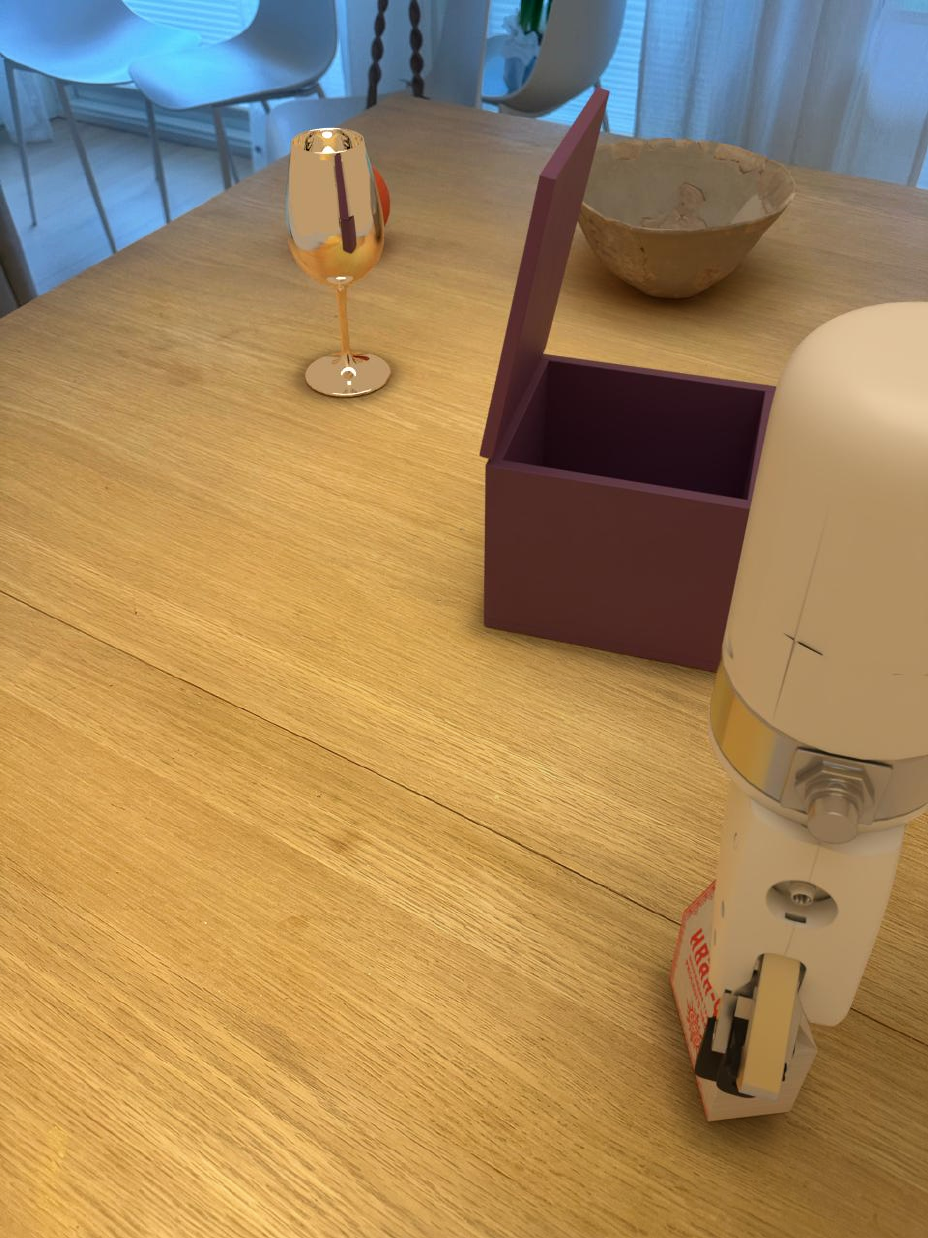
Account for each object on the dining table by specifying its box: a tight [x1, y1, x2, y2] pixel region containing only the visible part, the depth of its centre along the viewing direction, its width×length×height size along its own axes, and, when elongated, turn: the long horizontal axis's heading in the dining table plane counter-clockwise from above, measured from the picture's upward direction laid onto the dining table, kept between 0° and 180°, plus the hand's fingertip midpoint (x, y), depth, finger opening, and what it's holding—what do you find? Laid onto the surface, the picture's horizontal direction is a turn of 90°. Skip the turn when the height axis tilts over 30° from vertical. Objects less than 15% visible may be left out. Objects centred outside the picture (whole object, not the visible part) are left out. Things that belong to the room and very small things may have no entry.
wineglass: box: [285, 127, 392, 398], centre depth 86 cm, size 8×8×20 cm
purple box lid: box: [479, 86, 611, 460], centre depth 59 cm, size 16×14×1 cm
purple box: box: [483, 353, 777, 673], centre depth 68 cm, size 16×14×13 cm
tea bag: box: [668, 879, 818, 1122], centre depth 45 cm, size 4×7×10 cm, turn 6°
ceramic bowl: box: [577, 137, 798, 299], centre depth 104 cm, size 22×23×10 cm
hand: (744, 983), depth 45 cm, fingers closed on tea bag, 7 cm apart
